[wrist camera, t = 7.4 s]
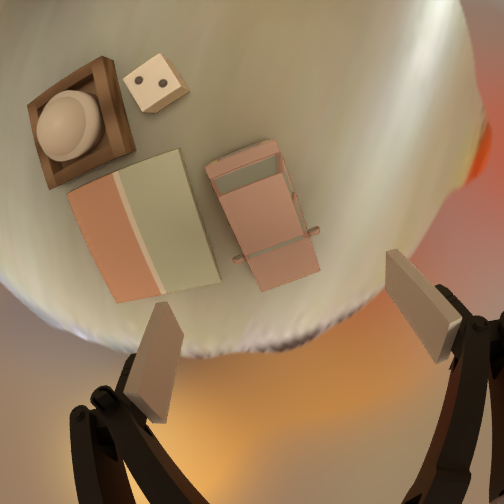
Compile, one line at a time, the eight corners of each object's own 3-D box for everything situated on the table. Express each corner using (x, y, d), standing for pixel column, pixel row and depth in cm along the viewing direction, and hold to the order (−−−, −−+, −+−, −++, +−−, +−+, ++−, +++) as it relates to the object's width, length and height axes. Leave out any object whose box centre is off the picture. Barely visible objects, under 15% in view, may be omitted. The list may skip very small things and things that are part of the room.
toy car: (250, 274, 35) (254, 326, 26) (199, 163, 29) (181, 182, 20) (319, 249, 34) (344, 294, 25) (279, 132, 27) (297, 136, 19)
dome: (49, 110, 23) (16, 113, 17) (98, 80, 22) (67, 74, 16) (63, 166, 26) (31, 178, 20) (113, 140, 26) (84, 147, 20)
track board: (70, 191, 29) (66, 193, 28) (179, 148, 28) (177, 148, 27) (119, 299, 36) (116, 303, 35) (221, 278, 35) (220, 282, 34)
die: (138, 83, 24) (120, 78, 19) (171, 61, 23) (158, 51, 19) (155, 113, 26) (140, 111, 21) (189, 91, 25) (180, 85, 20)
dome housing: (40, 104, 23) (27, 105, 20) (113, 60, 22) (102, 55, 19) (61, 184, 28) (49, 190, 25) (136, 150, 27) (126, 153, 25)
